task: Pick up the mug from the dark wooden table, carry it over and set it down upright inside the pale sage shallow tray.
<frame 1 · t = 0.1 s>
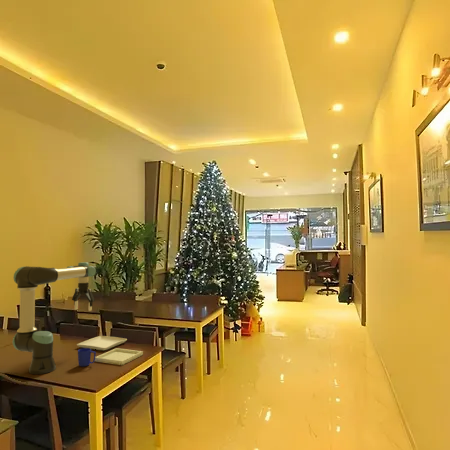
hand: (83, 310, 284), 28 cm above the table, tool pointing down, fingers open, 13 cm apart
square plate: (102, 346, 287), on the table
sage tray: (119, 358, 256), on the table
mug: (87, 365, 241), on the table
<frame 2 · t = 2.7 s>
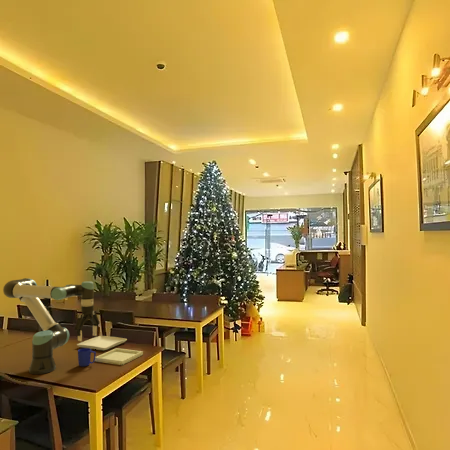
hand: (87, 338, 241), 18 cm above the table, tool pointing down, fingers open, 13 cm apart
nothing on the table moved.
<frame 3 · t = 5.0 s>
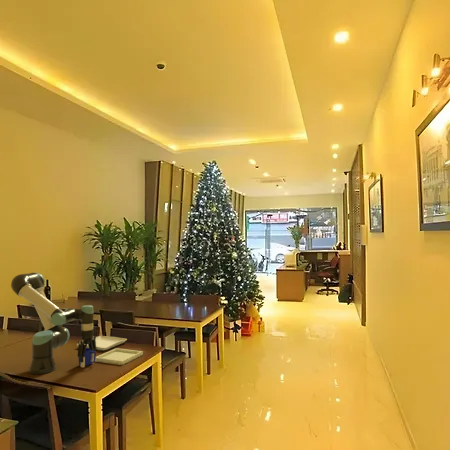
hand: (87, 365, 241), 0 cm above the table, tool pointing down, fingers open, 7 cm apart
mug: (87, 365, 241), on the table, touching gripper
everything else where it was.
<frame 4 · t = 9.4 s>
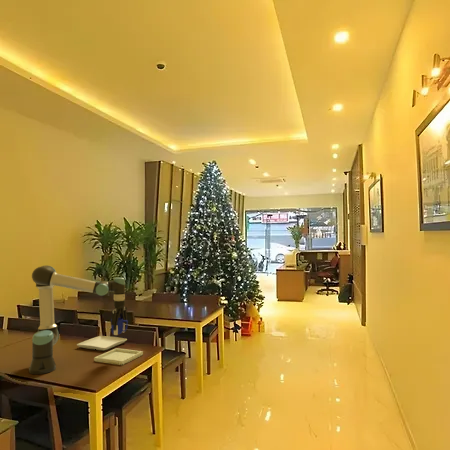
hand: (119, 333, 256), 17 cm above the table, tool pointing down, fingers closed on mug, 7 cm apart
mug: (119, 333, 257), point 16 cm above the table, touching gripper
everything else where it was.
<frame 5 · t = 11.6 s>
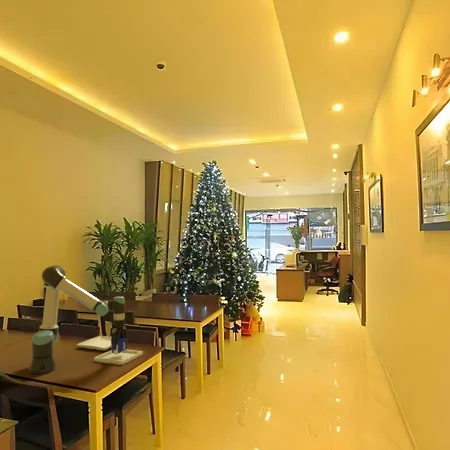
hand: (119, 352, 256), 4 cm above the table, tool pointing down, fingers closed on mug, 7 cm apart
mug: (119, 353, 256), point 3 cm above the table, touching gripper
everything else where it was.
when the fingers open (2 cm above the table, at t = 13.1 s): mug stays where it is, resting on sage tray.
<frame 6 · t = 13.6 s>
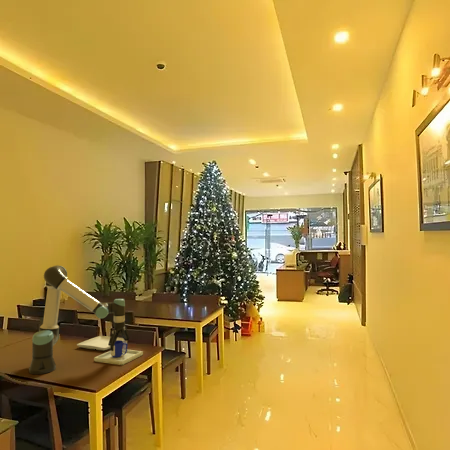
hand: (119, 352, 256), 4 cm above the table, tool pointing down, fingers open, 13 cm apart
mug: (119, 356, 256), point 1 cm above the table, touching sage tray
everything else where it was.
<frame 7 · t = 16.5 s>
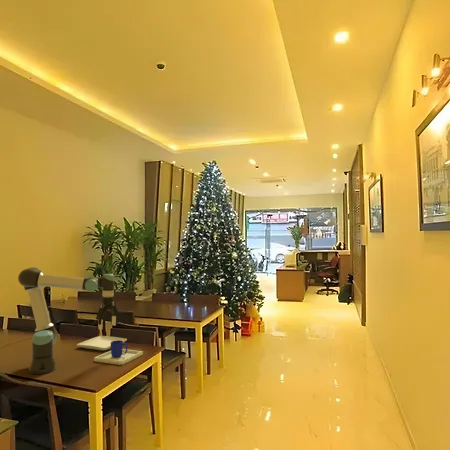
hand: (107, 327, 256), 21 cm above the table, tool pointing down, fingers open, 13 cm apart
nothing on the table moved.
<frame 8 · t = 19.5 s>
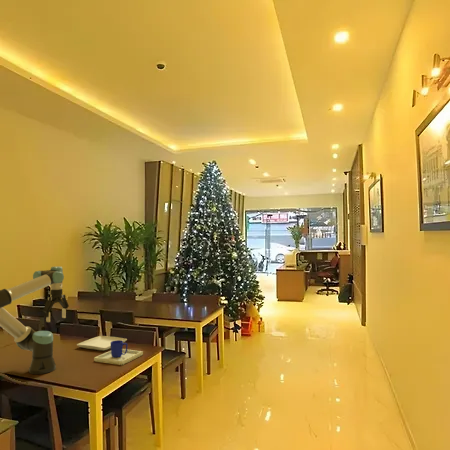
hand: (56, 319, 256), 27 cm above the table, tool pointing down, fingers open, 13 cm apart
nothing on the table moved.
at the end: mug inside the target area on the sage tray (0.4 cm from its centre), point 0.6 cm above the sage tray's base; mug tilted 0°; the gripper is holding nothing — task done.
